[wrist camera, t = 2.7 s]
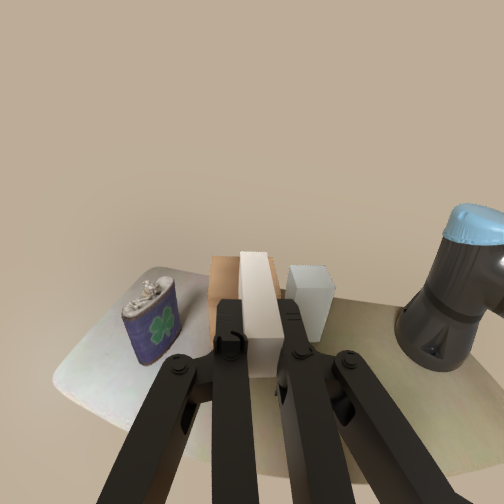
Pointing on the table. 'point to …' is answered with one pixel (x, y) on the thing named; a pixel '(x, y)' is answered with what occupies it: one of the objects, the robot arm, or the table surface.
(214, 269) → the plain block
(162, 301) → the flask
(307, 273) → the number block
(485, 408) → the table surface
